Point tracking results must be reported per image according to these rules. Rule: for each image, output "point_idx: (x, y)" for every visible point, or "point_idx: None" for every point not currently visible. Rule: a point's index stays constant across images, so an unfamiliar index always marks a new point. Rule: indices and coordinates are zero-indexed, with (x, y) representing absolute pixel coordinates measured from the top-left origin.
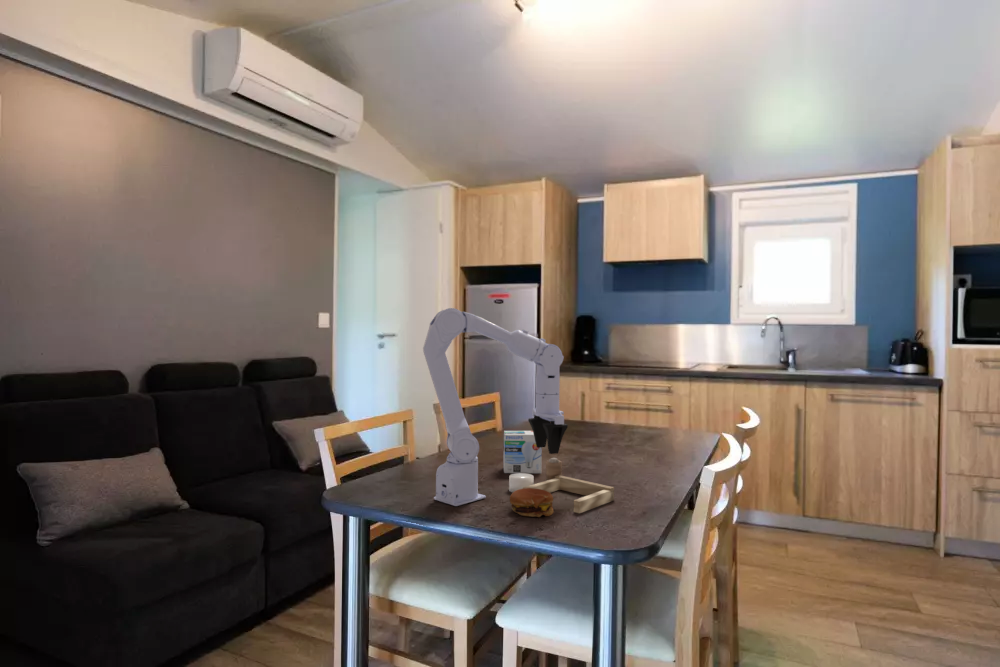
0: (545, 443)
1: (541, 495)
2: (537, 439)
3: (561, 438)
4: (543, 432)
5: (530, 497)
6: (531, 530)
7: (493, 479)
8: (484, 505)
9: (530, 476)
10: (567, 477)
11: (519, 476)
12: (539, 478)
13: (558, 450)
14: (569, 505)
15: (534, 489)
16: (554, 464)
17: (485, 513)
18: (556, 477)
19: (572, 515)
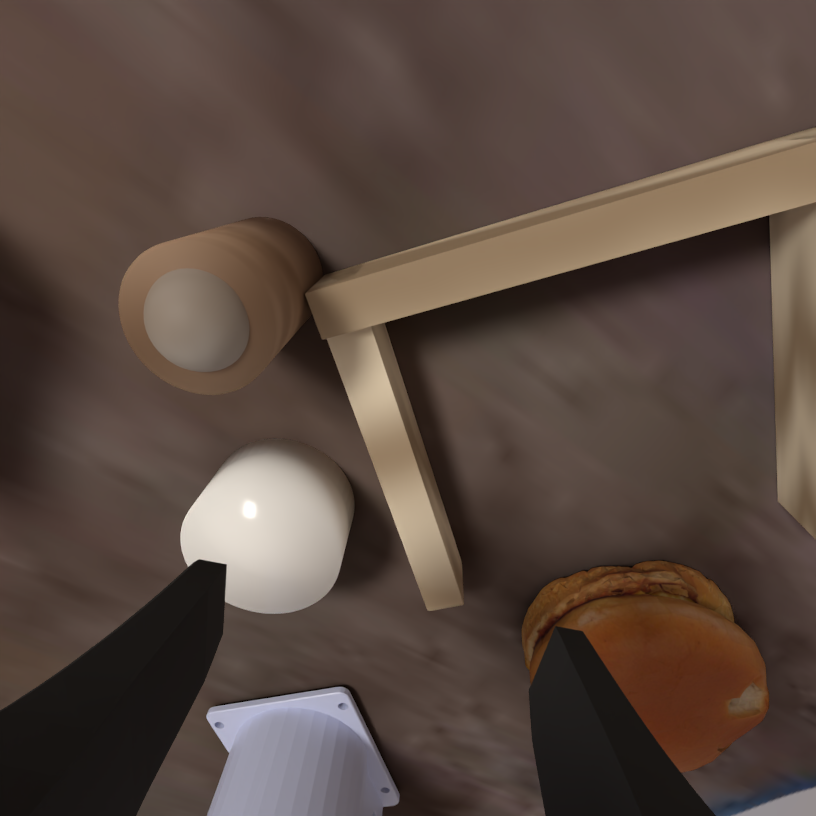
0: (210, 593)
1: (744, 719)
2: (180, 717)
3: (703, 810)
4: (122, 743)
5: (717, 755)
6: (803, 737)
7: (19, 512)
8: (434, 723)
9: (289, 513)
10: (402, 279)
11: (260, 563)
12: (59, 257)
13: (597, 657)
14: (677, 452)
15: (635, 696)
16: (271, 359)
17: (527, 758)
18: (335, 334)
19: (807, 533)
